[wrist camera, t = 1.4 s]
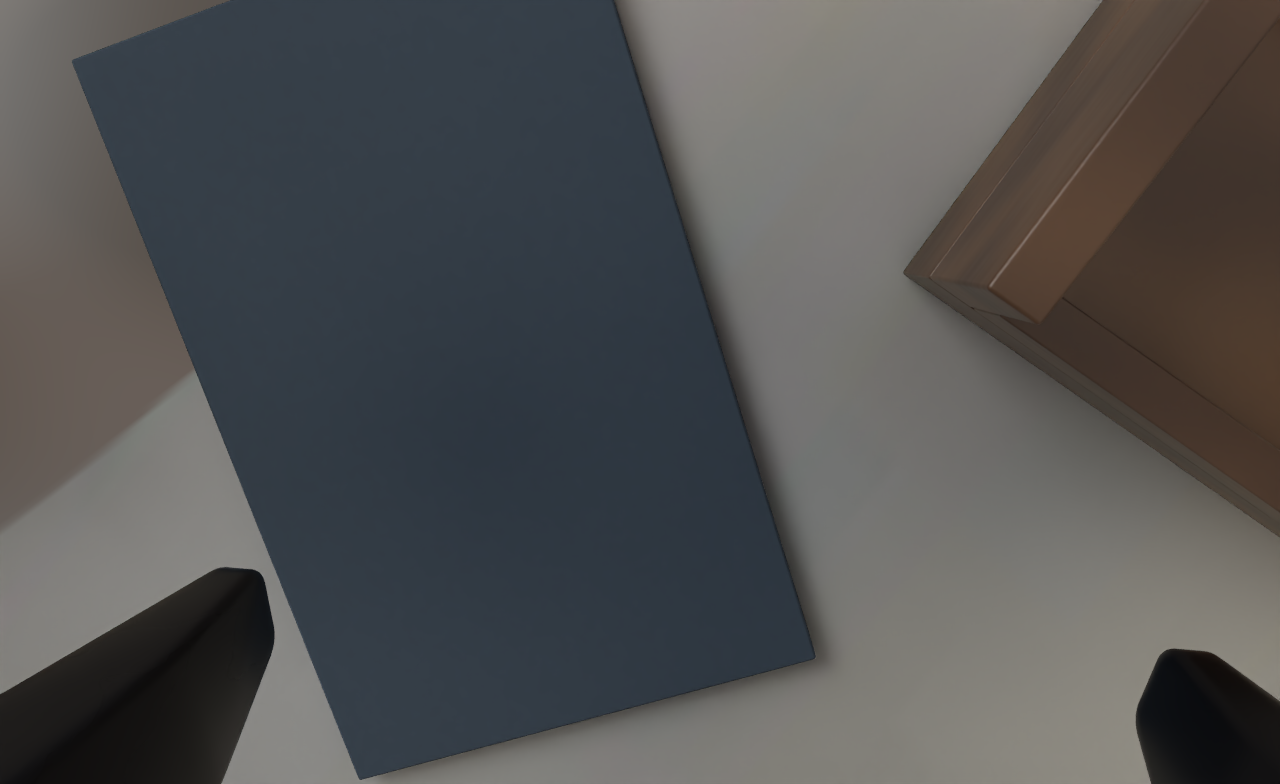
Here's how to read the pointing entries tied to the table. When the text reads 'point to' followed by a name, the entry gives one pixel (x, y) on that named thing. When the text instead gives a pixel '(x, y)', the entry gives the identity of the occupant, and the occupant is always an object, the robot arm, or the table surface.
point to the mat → (453, 358)
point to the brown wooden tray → (1142, 235)
